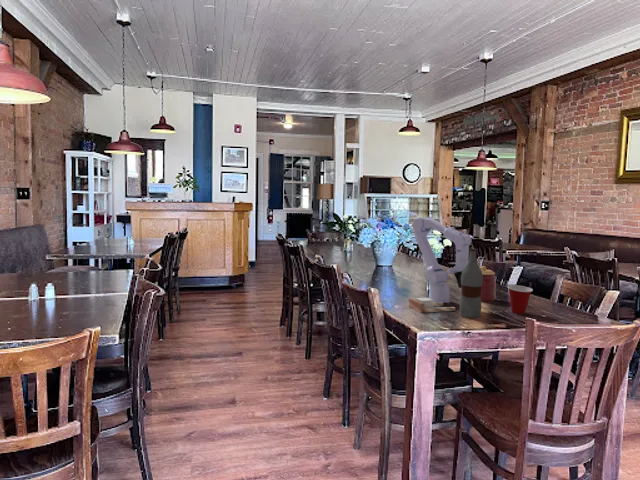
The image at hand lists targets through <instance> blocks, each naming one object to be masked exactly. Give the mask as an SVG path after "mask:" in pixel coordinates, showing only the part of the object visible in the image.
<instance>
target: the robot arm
mask: <svg viewBox="0 0 640 480" xmlns="http://www.w3.org/2000/svg"><path fill="white" fill-rule="evenodd" d="M411 226H412V228H413V230H414V237H415V241H416V242H417V246H418V248H419V251H420V252H421V255H422V258H423V259H424V262H425V265H426V267H427V269H426V270H425V273H426V279H427V282H428V283H429V284H428V285H429V295H428V296H429V297H428V298H429V299H432V300H434V301H433V303H437V302H443V304H444V303H447V304H448V303H451V301H450V293H451V292H450V291H451V289H450V285H449V284H448V283H446V282H447V281H448V280H449V274H453V275H454V277H455V279H456V282H457V286H458V289H461V275H462V271H463V269H464V268H465V266H466V265H467V263H468V262H469V256H470V245H471V244H472V242H473V241H472V237H471V236H470V234H468V233H463V232H462V231H458V230H457V229H456V227H454V226H450V227H447V226H445V225H444V224H442V223H440V222H439V221H437V220H436V219H435V218H433V217H430V216H427V217H426V216H425V217H421V216H417V217H415V218H414V219H413V221H412V225H411ZM432 229H433V230H435V231H437V232H440V233H442V234H443V237H444V238H445V239H447V240H449V241H450V242H452V243H453V244H454V245H455V249H456V250H455V267H451V268H450V267H449V268H447V269H446V270H445V269H444V266H442V265H440V264H439V263H438V262H439V261H438V260H437V258H436V255H435V254H434V251H433V249H432V246H431V244H430V242H429V241H430V240H429V239H428V237H427V236H428V234H429V233H430V232H431V230H432Z"/></svg>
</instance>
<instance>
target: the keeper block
mask: <svg viewBox="0 0 640 480" xmlns="http://www.w3.org/2000/svg"><path fill="white" fill-rule="evenodd" d="M415 300H417V301H419V302H422V303H424V304H425V307H424V309H425V308H434V306H433V301H434V300H432V299H429V297H415Z"/></svg>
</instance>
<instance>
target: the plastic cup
mask: <svg viewBox="0 0 640 480" xmlns="http://www.w3.org/2000/svg"><path fill="white" fill-rule="evenodd" d="M507 289H508V293H509V295H508V296H509V303H510V304H509V305H510V311H511V313H512V312H513V313H512V314H515V313H516V315H525V314H526V311H527V307H528V304H529V300H530V296H531V294H532V292H533V290H534V289H533V288H531V287H529V286H528V287H527V286H524V285H517V284H513V285H512V284H511V285H507ZM524 313H525V314H524Z"/></svg>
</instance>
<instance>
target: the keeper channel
mask: <svg viewBox="0 0 640 480" xmlns="http://www.w3.org/2000/svg"><path fill="white" fill-rule="evenodd" d="M443 306H444V303H443V302H437V303H433V308H425V309H424V307H425V304H424V303H422V302H419V301H417V300H416V298H408V308H409V309H412V310H413V311H416V312H418V313H421V314H423V313H435V312H436V313H437V312H440V313H441V312H452V311H453V312H455V311H456V307H455V306H447V307H446V306H445V307H443Z"/></svg>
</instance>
